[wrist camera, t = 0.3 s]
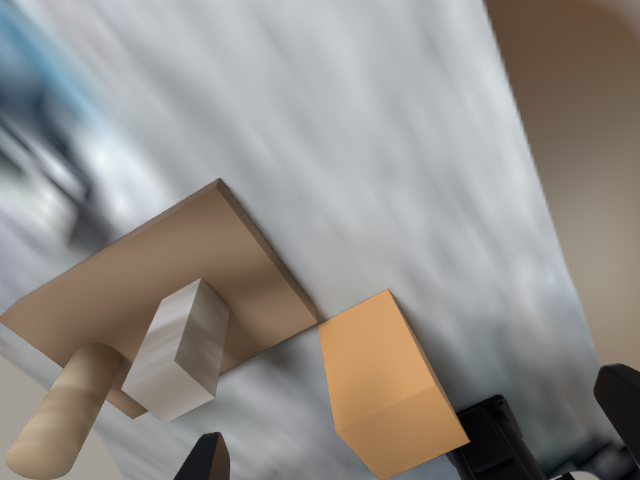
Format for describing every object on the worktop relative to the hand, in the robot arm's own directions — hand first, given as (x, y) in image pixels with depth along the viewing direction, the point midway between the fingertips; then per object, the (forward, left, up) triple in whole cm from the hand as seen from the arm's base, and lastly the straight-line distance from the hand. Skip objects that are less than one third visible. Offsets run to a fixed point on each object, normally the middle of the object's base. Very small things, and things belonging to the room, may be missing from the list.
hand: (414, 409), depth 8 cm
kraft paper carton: (-10, +2, -13) cm, 16 cm away
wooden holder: (-1, +11, -13) cm, 17 cm away
